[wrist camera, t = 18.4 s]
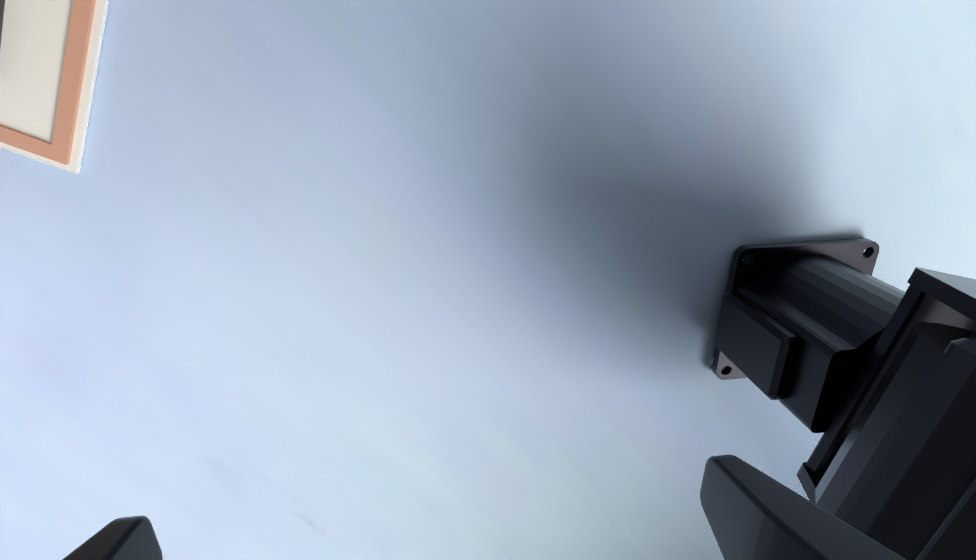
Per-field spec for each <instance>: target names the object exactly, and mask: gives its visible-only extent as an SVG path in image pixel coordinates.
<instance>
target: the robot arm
mask: <svg viewBox="0 0 976 560" xmlns="http://www.w3.org/2000/svg"><path fill="white" fill-rule="evenodd" d="M865 249H866V251H865V252H864V253H863V251H864V250H865ZM878 253H879V245H878V244H877V243H876V242H874V241H871V240H869V239H847V240H829V241H811V242H794V243H776V244H758V245H744V246H741V247H739V248H738V249H737V250H736V251H735V252H734V254H733V257H732V262H731V267H730V273H729V278H728V283H727V289H726V294H725V296H724V298H723V302H722V307H721V312H720V318H719V323H718V329H717V334H716V339H715V346H716V347H715V352H714V358H713V363H712V371H713V373H714V374H715V375H716V376H717V377H718V378H720V379H724V380H725V379H737V378H749V379H750V380H751V381H752V382H753V383H754V384H755V385H756V386H757V387H758V388H759V389H760V390H761V391H762V392H763V393H764V394H765V395H766V396H767V397H768V398H770V399H771V400H779V401H780V402H781V403H782V404H783V405H784V406H785V407H786V408H787V409H788V410H790V411H791V412H792V413H793V414H794V415H795V416H796V417H797V418H798V419H799V420H800V421H801V422H802V423H803V424H804V425H805V426H806V427H808V428H809V429H810V430H811V431H812V432H813V433H822V432H824V434H823V435H822V437H821V439H820V441H819V442H818V444H817V446H816V448H815V449H814V451H813V453H812V454H811V456H810V458H809V460H808V461H807V462H804V463H803V464H802V466H801V467H800V469H799V471H798V473H797V476H798V478H799V480H800V482H801V484H802V486H803V488H804V490H805V492H806V494H807V496H808V498H809V500H810V501H809V500H807V499H806V498H804V497H802V496H801V495H799V494H797V493H796V492H794V491H792V490H791V489H789V488H787V487H786V486H784V485H782V484H781V483H779V482H777V481H776V480H774V479H772V478H771V477H769V476H768V475H766V474H764V473H763V472H761V471H759V470H758V469H756V468H754V467H753V466H751V465H749V464H748V463H746V462H744V461H743V460H741V459H739V458H738V457H736V456H733V455H721V456H712V457H710V458H709V459H708V460H707V462H706V465H705V470H704V475H703V480H702V485H701V490H700V499H701V504H702V507H703V510H704V512H705V514H706V517H707V519H708V522H709V524H710V526H711V529H712V531H713V533H714V536H715V538H716V541H717V543H718V545H719V548H720V550H721V552H722V555H723V557H724V559H725V560H976V280H975V279H970V278H965V277H961V276H956V275H951V274H946V273H942V272H937V271H932V270H928V269H923V268H918V267H916V268H915V270H914V272H913V273H912V275H911V277H910V278H909V280H908V283H909V284H910V286H909V287H908V289H907V291H906V292H904V291H902V290H900V289H898V288H896V287H894V286H891V285H889V284H887V283H885V282H883V281H881V280H879V279H877V278H875V277H873V276H872V272H873V269H874V266H875V263H876V259H877V256H878ZM748 254H749V257H748V259H747V260H746V261H744V262H743V259H744V257H745V256H746V255H748ZM725 366H727V367H726V368H725V369H724V370H722V368H724V367H725ZM162 559H163V558H162V551H161V548H160V546H159V543H158V540H157V538H156V535H155V532H154V530H153V527H152V524H151V522H150V520H149V519H148V518H147V517H145V516H133V517H124V518H118V519H115V520H113V521H112V522H110V523H109V524H108V525H106V526H105V527H104V528H102V529H101V530H100V531H99V532H97V533H96V534H95V535H93V536H92V537H91V538H90V539H88V540H87V541H86V542H84V543H83V544H82V545H81V546H79V547H78V548H77V549H75V550H74V551H73V552H72V553H70V554H69V555H68V556H66V557H65V558H64V559H63V560H162Z"/></svg>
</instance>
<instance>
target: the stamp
mask: <svg viewBox="0 0 976 560" xmlns="http://www.w3.org/2000/svg"><path fill="white" fill-rule="evenodd" d="M4 6H5V0H0V47H1V37H2V26H3V16H4Z"/></svg>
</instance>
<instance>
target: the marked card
mask: <svg viewBox="0 0 976 560" xmlns="http://www.w3.org/2000/svg"><path fill="white" fill-rule="evenodd" d="M108 5H109V0H5V6H4V16H3V26H2V37H1V47H0V147H1V148H4V149H6V150H9V151H12V152H15V153H18V154H21V155H24V156H27V157H29V158H32V159H35V160H38V161H41V162H44V163H47V164H50V165H52V166H55V167H58V168H61V169H64V170H67V171H70V172H73V173H75V174H77V173H80V169H81V163H82V157H83V151H84V145H85V140H86V134H87V128H88V122H89V116H90V110H91V104H92V99H93V93H94V87H95V81H96V75H97V69H98V64H99V58H100V52H101V46H102V40H103V34H104V28H105V23H106V17H107V11H108Z"/></svg>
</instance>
